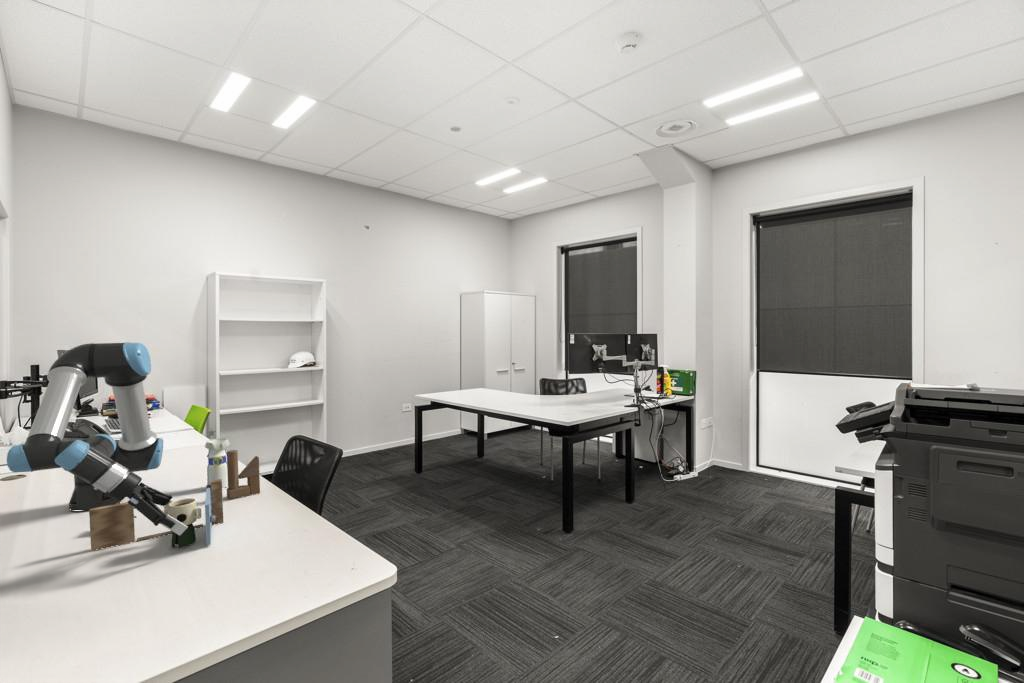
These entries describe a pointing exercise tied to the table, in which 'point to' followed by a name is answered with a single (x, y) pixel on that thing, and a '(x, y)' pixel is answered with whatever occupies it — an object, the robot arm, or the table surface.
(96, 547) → the door frame
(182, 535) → the character mug
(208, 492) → the door
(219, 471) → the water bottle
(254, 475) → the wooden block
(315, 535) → the table surface
